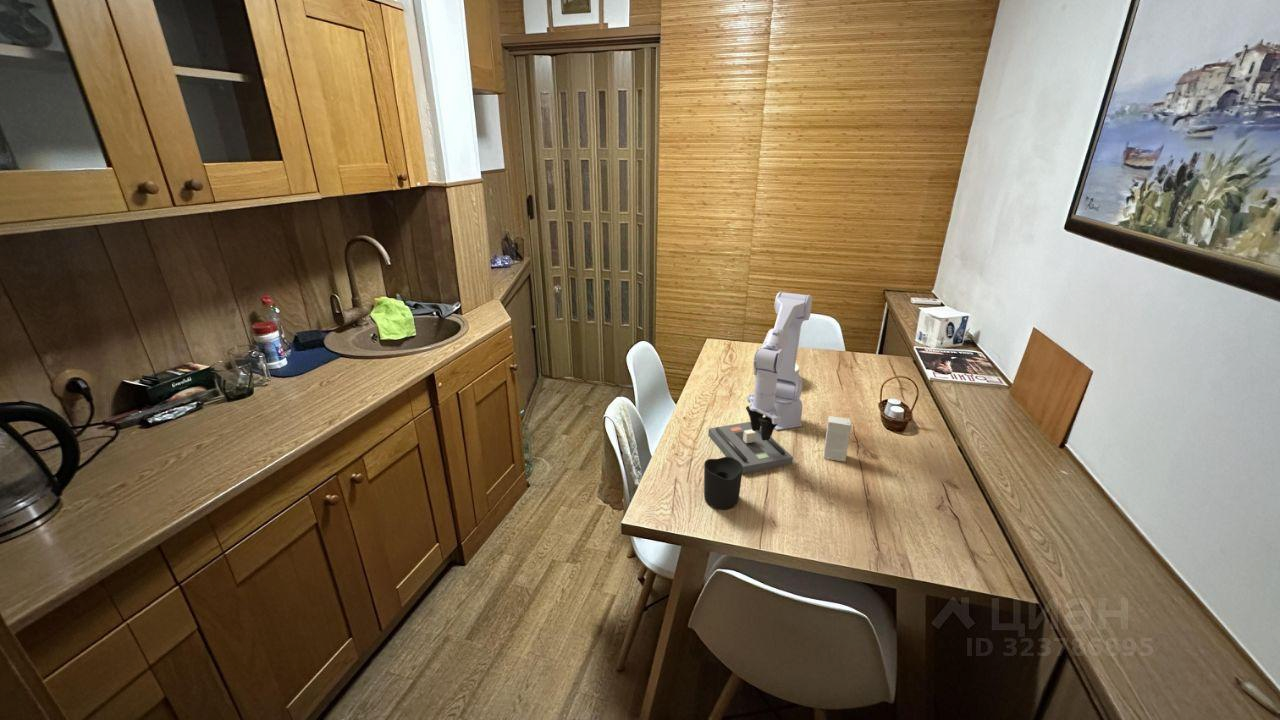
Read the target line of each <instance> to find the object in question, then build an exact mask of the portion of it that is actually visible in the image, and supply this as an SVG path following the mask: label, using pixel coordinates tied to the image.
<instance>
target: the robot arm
mask: <svg viewBox="0 0 1280 720" xmlns="http://www.w3.org/2000/svg"><path fill="white" fill-rule="evenodd" d="M773 305H774V306H773V307H774V311H775V314H776V320H775V324H774V326H773V328H770V329H769V330H768V332H767V334H766V336H765V338H764V340H763V343H762V346H761V348H760V349H756V352H755V354H754V357H753V374H754V377H755V379H754V389H753V394H747V398H746V400H747V402H748V403H750V405H747V406H746V408H745V409H746V411H747V413H748V416H749V419H750V420H749V422H751V427H752V430H753V431H757V430H760V427H761V438H762V440H763V441H764V440H769V439H770V437H772V434H773V432H774V430H776V431H780V430H781V431H782V430H787V429H792V428H798V427H802V426H803V425H802V423H801V421H802V415H803V403H802V400H801V396H802V392H803V391H802V390H803V377H802V376H801V375H800V374H799V373H797V372H796V371H795V364H797V355H798V349H799V344H800V343H799V342H800V338H801V337H800V335H801V328H802V325H803V323H804V322H805V321H809V319H810V316H811V311H812V305H813V297H812V296H811V295H810V294H801V293H793V292H792V293H791V292H783V291H779V292H777V294H776V296H775V299H774V304H773Z"/></svg>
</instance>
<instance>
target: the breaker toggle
mask: <svg viewBox="0 0 1280 720" xmlns="http://www.w3.org/2000/svg"><path fill="white" fill-rule="evenodd" d="M755 433H756V432H755V431H753V430H752V429H751V430H745V431H744V434H743V441H744V442H745V443H751V442H755Z"/></svg>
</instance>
